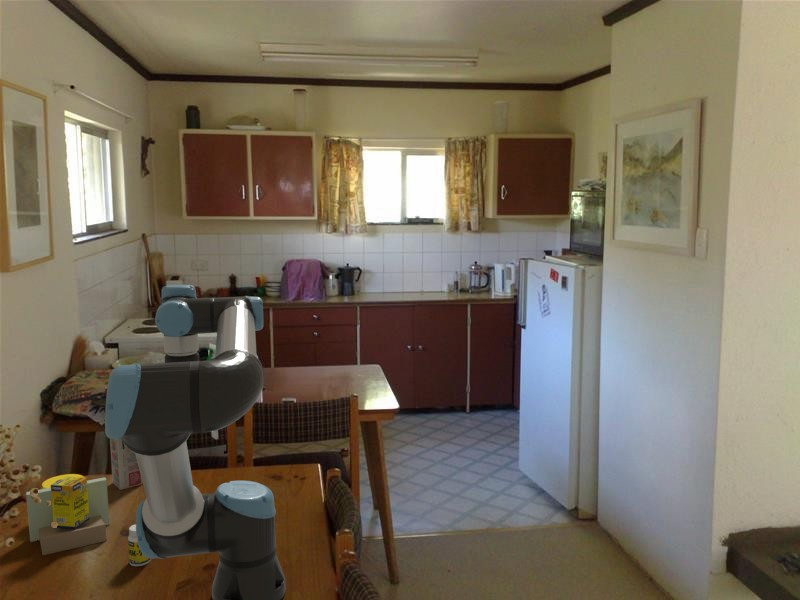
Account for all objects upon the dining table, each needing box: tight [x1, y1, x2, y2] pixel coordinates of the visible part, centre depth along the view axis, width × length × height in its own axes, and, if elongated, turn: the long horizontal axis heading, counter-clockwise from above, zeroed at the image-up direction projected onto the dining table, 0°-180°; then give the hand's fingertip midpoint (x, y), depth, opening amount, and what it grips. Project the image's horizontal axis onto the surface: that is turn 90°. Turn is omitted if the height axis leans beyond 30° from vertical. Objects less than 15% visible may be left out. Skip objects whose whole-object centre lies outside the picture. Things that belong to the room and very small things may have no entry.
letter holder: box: [25, 476, 111, 556], centre depth 172 cm, size 11×18×12 cm, turn 121°
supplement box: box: [51, 476, 89, 529], centre depth 171 cm, size 6×6×11 cm
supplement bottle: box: [127, 523, 152, 567], centre depth 161 cm, size 5×5×8 cm
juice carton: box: [109, 439, 143, 491], centre depth 205 cm, size 7×7×22 cm
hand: (186, 442), depth 163 cm, fingers open, 13 cm apart
